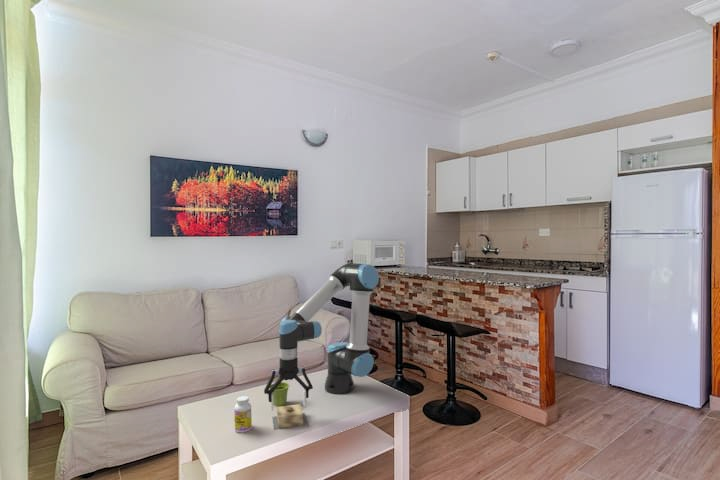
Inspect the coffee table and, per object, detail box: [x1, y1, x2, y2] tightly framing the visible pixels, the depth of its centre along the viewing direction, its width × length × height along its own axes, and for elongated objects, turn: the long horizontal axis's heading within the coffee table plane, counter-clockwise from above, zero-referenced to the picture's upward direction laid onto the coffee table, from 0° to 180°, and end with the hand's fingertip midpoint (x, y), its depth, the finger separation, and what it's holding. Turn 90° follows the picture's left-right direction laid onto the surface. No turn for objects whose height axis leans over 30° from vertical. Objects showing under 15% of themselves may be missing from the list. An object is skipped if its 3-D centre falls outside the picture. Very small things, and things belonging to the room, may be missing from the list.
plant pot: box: [269, 381, 290, 407], centre depth 186 cm, size 9×9×9 cm
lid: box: [276, 403, 304, 428], centre depth 168 cm, size 10×10×5 cm
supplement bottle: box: [234, 395, 253, 433], centre depth 162 cm, size 7×7×13 cm
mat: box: [271, 412, 309, 431], centre depth 168 cm, size 14×12×1 cm
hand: (288, 407), depth 168 cm, fingers open, 13 cm apart
